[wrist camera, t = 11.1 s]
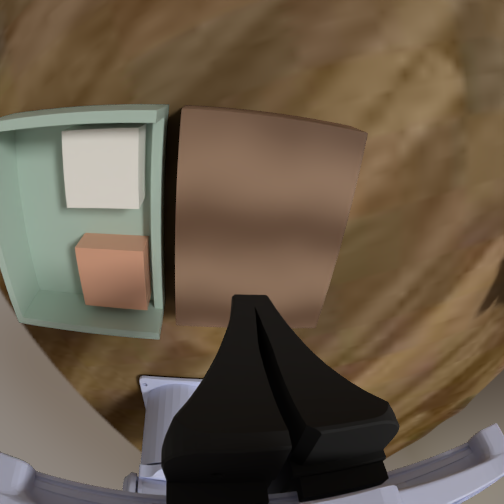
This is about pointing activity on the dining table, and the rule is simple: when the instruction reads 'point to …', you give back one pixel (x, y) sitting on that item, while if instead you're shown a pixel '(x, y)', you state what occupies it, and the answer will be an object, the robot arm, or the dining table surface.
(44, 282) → the green bin
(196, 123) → the walnut plate
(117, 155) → the white tile
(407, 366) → the dining table surface
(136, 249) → the terracotta tile
